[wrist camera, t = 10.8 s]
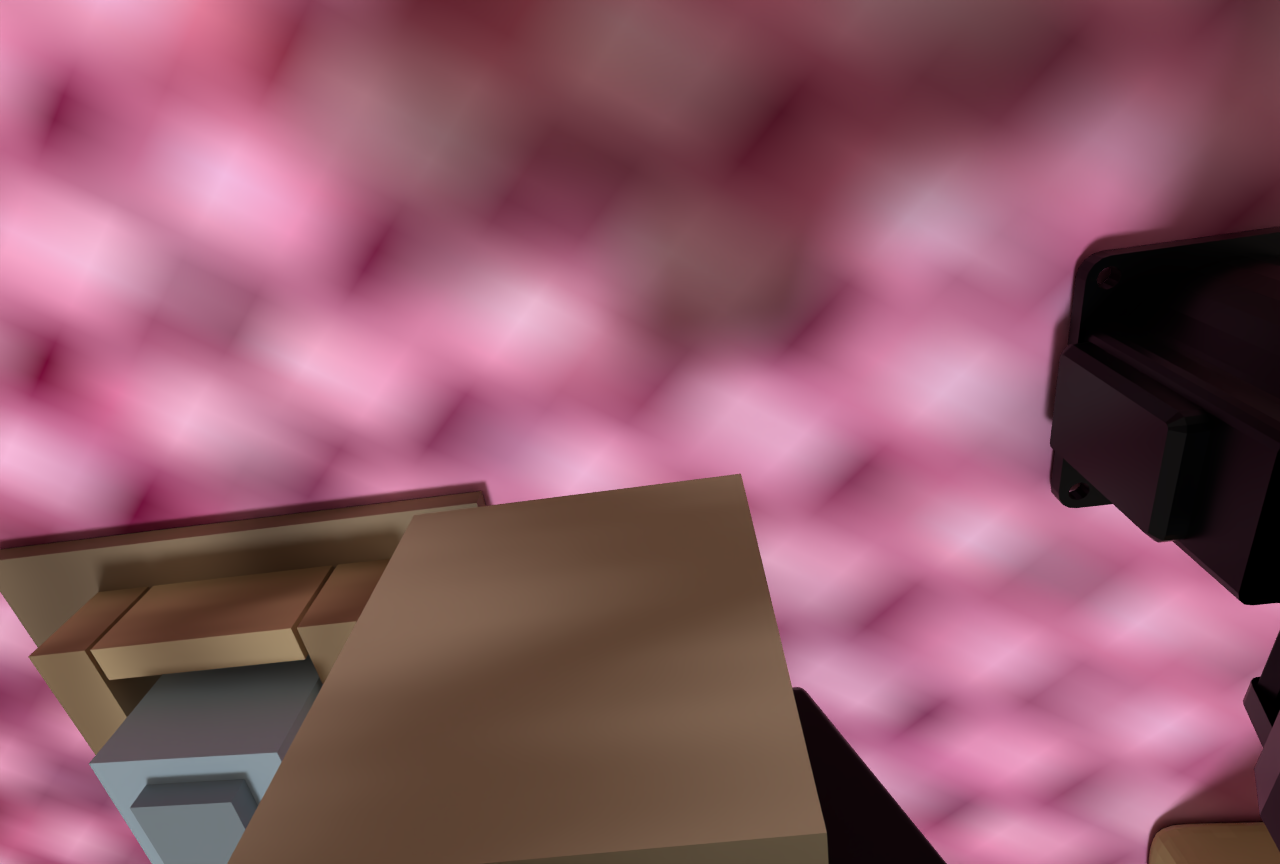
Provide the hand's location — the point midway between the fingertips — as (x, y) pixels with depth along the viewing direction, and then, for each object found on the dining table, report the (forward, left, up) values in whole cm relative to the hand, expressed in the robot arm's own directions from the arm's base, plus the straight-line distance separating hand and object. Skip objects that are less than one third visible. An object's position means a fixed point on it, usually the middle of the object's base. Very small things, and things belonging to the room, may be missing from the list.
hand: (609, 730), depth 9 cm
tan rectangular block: (0, 0, -1) cm, 1 cm away
